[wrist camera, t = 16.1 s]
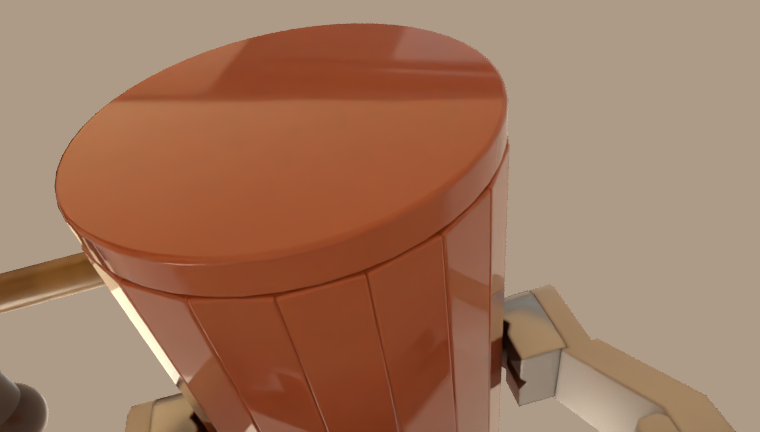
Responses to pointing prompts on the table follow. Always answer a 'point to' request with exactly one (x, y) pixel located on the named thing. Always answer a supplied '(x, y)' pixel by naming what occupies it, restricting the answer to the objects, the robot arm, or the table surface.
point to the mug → (309, 228)
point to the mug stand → (25, 288)
